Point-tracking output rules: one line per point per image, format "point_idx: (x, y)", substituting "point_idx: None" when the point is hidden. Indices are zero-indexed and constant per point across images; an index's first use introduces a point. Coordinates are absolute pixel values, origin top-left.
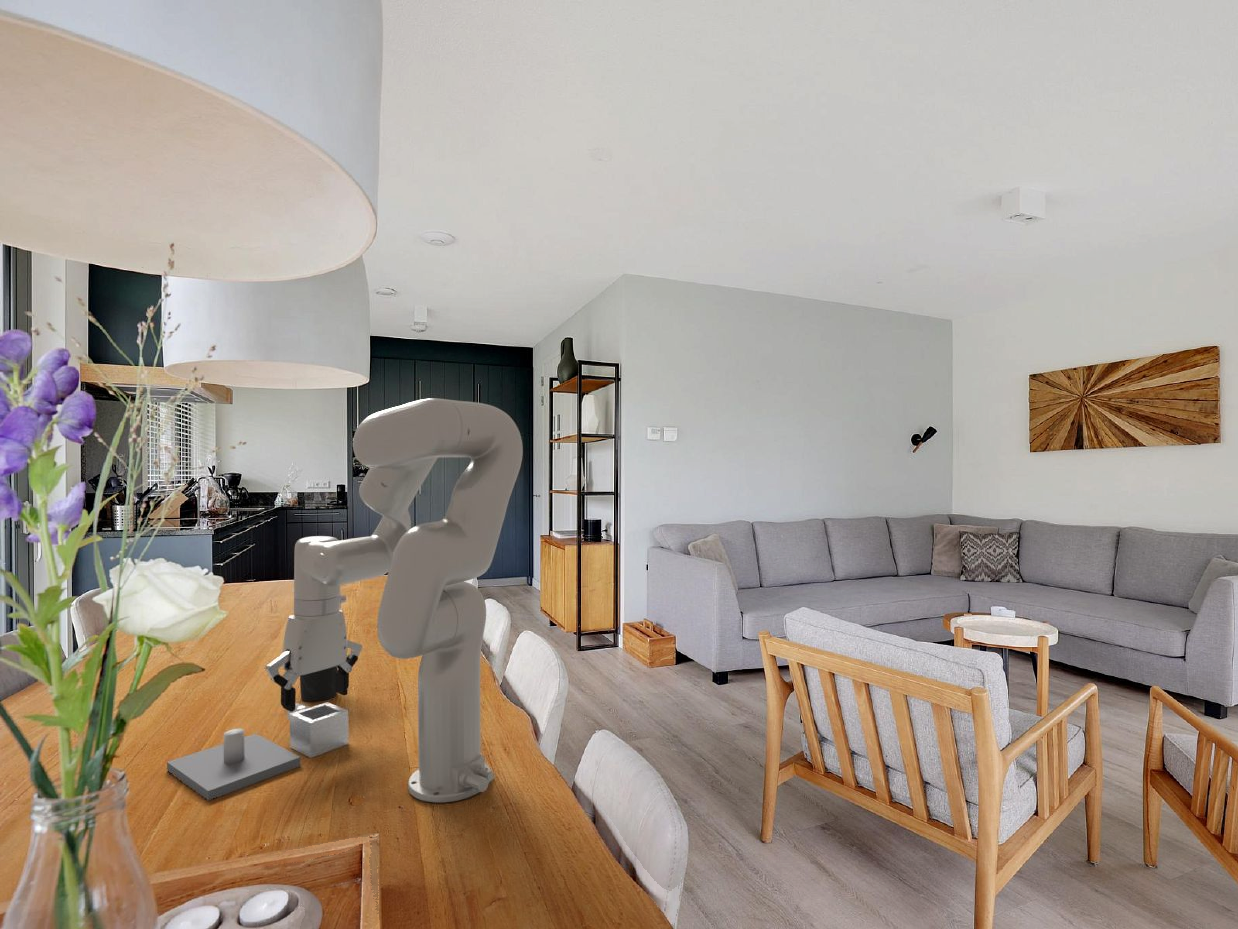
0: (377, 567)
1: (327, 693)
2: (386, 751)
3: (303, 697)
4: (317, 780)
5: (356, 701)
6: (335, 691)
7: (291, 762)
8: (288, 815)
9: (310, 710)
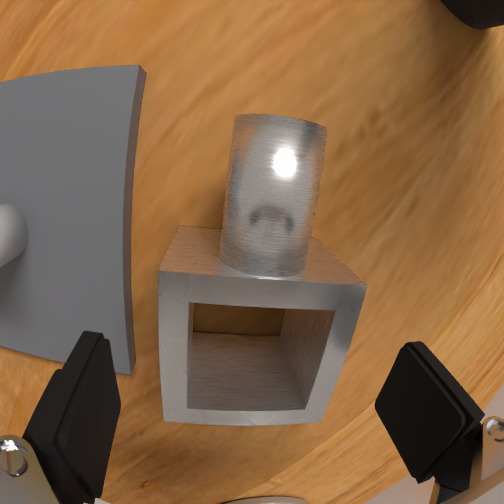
0: None
1: (475, 18)
2: (299, 430)
3: None
4: (134, 426)
5: (493, 108)
6: (401, 350)
7: None
8: None
9: (256, 305)
